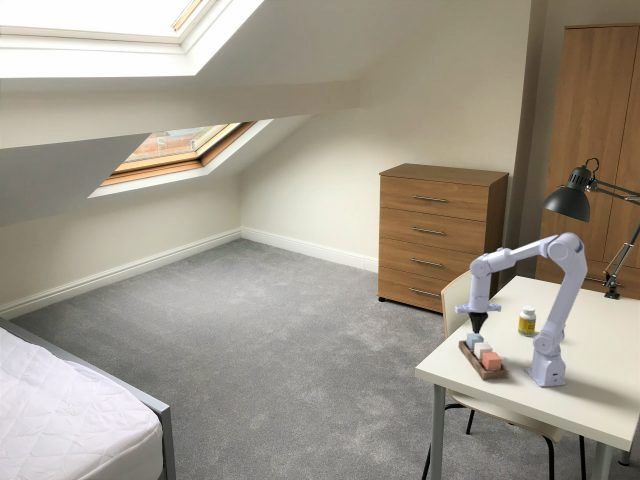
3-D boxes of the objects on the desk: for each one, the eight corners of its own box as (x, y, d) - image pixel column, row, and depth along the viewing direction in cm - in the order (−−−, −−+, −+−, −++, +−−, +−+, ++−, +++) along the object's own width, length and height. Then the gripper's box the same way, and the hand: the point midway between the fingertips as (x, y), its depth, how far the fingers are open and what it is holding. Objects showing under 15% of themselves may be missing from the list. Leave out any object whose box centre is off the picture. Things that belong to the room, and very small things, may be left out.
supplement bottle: (524, 328, 188) (527, 303, 185) (537, 334, 184) (540, 308, 181) (514, 332, 185) (517, 307, 182) (527, 338, 181) (530, 312, 178)
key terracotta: (500, 369, 158) (501, 359, 157) (487, 370, 158) (488, 360, 157) (494, 362, 162) (495, 352, 161) (482, 363, 162) (483, 353, 161)
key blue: (483, 348, 170) (484, 338, 169) (471, 349, 170) (472, 339, 168) (477, 342, 174) (478, 332, 173) (466, 343, 173) (467, 333, 172)
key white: (491, 358, 164) (492, 348, 163) (479, 359, 164) (480, 349, 163) (485, 352, 168) (487, 342, 167) (473, 352, 167) (474, 343, 166)
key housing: (508, 378, 158) (508, 371, 157) (483, 380, 157) (483, 373, 156) (480, 345, 176) (481, 339, 175) (458, 347, 175) (459, 340, 174)
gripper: (496, 287, 171) (491, 324, 175) (452, 289, 169) (449, 327, 173) (506, 296, 164) (501, 335, 168) (461, 298, 162) (457, 338, 166)
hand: (475, 332), depth 170 cm, fingers closed
